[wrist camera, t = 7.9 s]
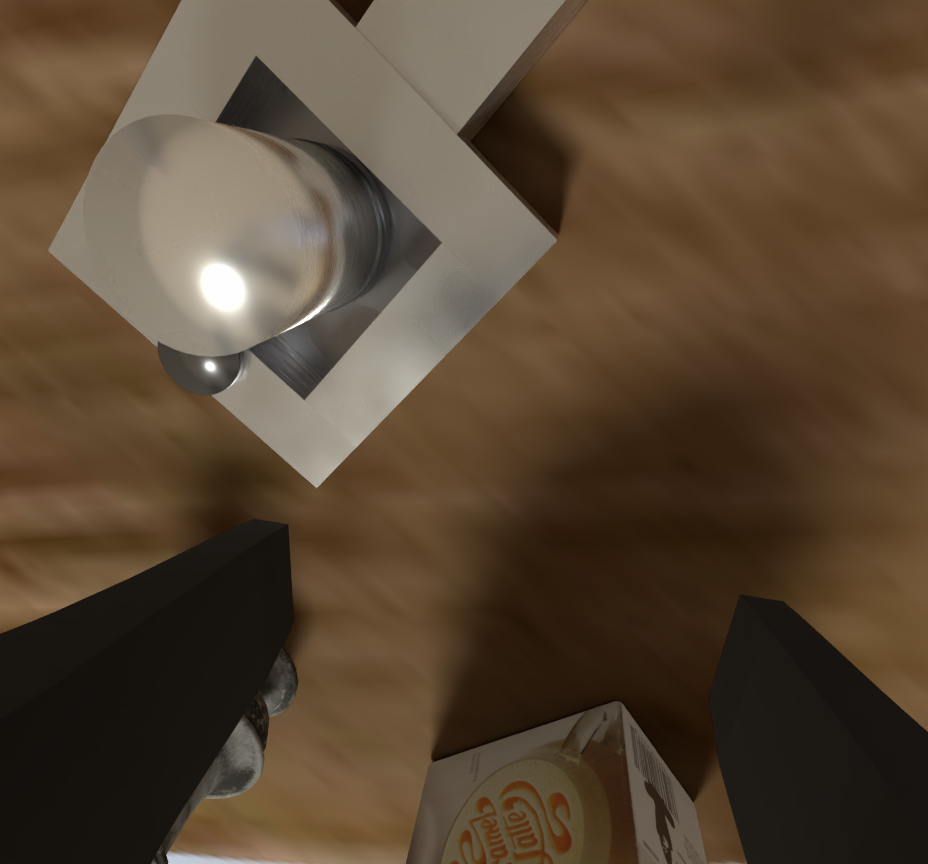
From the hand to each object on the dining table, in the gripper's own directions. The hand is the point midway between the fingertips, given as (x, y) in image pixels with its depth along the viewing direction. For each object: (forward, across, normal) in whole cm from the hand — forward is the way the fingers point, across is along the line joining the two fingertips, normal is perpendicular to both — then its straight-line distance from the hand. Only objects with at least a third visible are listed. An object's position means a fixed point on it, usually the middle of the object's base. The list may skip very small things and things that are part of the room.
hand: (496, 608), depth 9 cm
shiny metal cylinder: (+9, +7, -5) cm, 12 cm away
